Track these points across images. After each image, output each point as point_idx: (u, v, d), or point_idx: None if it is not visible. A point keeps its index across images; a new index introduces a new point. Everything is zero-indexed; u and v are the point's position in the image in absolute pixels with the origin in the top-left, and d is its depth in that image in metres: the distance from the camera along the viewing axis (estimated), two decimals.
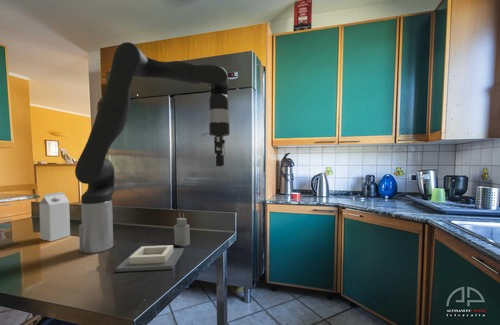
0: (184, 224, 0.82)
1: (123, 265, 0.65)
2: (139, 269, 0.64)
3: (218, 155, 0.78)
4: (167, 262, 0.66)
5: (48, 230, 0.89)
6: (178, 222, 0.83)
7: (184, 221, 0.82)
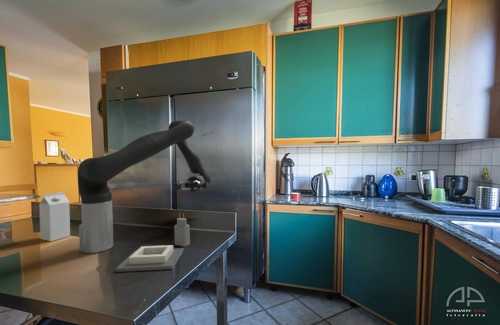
0: (184, 224, 0.82)
1: (123, 265, 0.65)
2: (139, 269, 0.64)
3: (202, 185, 0.98)
4: (167, 262, 0.66)
5: (48, 230, 0.89)
6: (178, 222, 0.83)
7: (184, 221, 0.82)
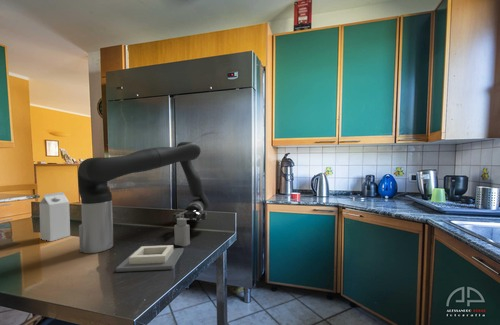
0: (184, 224, 0.82)
1: (123, 265, 0.65)
2: (139, 269, 0.64)
3: (201, 217, 0.96)
4: (167, 262, 0.66)
5: (48, 230, 0.89)
6: (178, 222, 0.83)
7: (184, 221, 0.82)
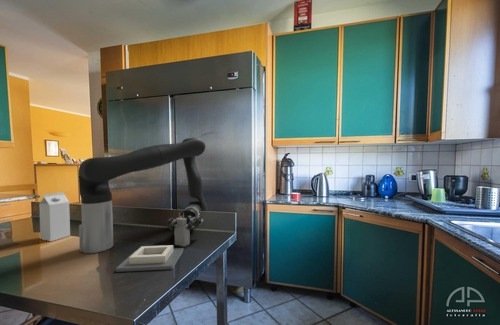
0: (184, 224, 0.82)
1: (123, 265, 0.65)
2: (139, 269, 0.64)
3: (194, 223, 0.85)
4: (167, 262, 0.66)
5: (48, 230, 0.89)
6: (178, 222, 0.83)
7: (184, 221, 0.82)
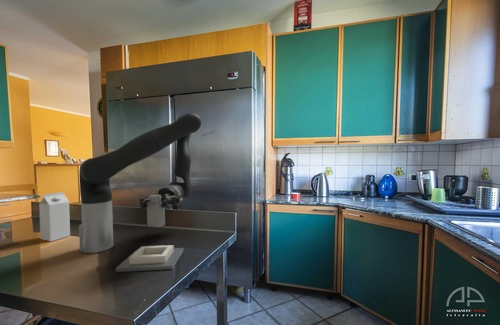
0: (158, 201, 0.70)
1: (123, 265, 0.65)
2: (139, 269, 0.64)
3: (170, 201, 0.73)
4: (167, 262, 0.66)
5: (48, 230, 0.89)
6: (151, 199, 0.71)
7: (158, 198, 0.70)
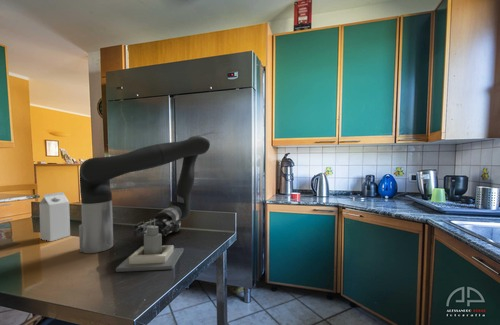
0: (155, 233, 0.69)
1: (123, 265, 0.65)
2: (139, 269, 0.64)
3: (171, 228, 0.72)
4: (167, 262, 0.66)
5: (48, 230, 0.89)
6: (148, 231, 0.70)
7: (155, 229, 0.69)
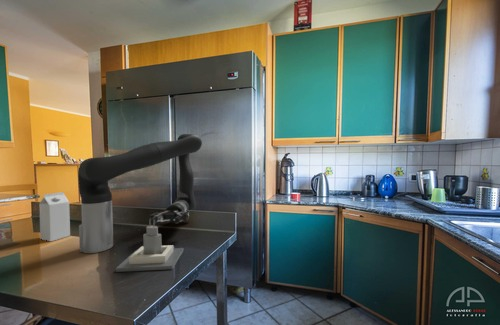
0: (154, 233, 0.69)
1: (123, 265, 0.65)
2: (139, 269, 0.64)
3: (182, 217, 0.86)
4: (167, 262, 0.66)
5: (48, 230, 0.89)
6: (148, 231, 0.70)
7: (154, 230, 0.69)
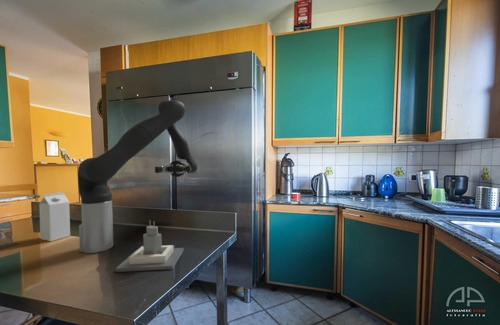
0: (154, 233, 0.69)
1: (123, 265, 0.65)
2: (139, 269, 0.64)
3: (184, 168, 0.92)
4: (167, 262, 0.66)
5: (48, 230, 0.89)
6: (148, 231, 0.70)
7: (154, 230, 0.69)
